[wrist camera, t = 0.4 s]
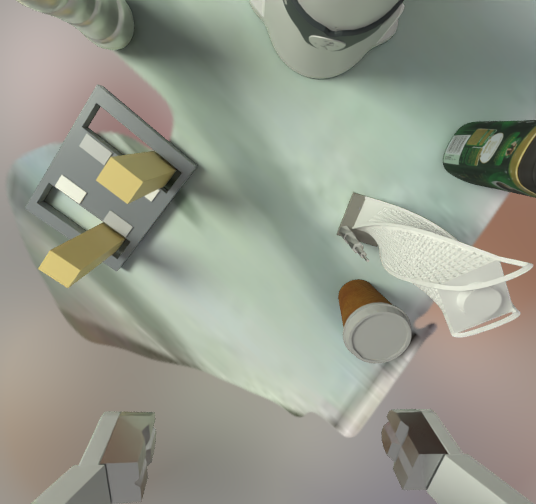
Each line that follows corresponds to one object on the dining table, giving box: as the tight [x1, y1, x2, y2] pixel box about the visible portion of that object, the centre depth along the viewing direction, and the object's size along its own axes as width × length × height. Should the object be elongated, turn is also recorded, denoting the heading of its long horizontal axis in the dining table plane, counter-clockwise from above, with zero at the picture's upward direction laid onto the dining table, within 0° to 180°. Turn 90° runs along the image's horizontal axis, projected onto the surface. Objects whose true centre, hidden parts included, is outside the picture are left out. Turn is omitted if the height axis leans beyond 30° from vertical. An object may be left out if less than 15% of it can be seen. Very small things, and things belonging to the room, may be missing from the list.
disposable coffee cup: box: [338, 279, 411, 363], centre depth 47 cm, size 10×10×12 cm
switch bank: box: [25, 85, 197, 271], centre depth 45 cm, size 16×22×2 cm
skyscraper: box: [337, 193, 533, 337], centre depth 35 cm, size 8×8×28 cm
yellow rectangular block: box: [96, 151, 177, 204], centre depth 39 cm, size 4×3×13 cm
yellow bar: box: [38, 222, 126, 288], centre depth 43 cm, size 4×3×13 cm
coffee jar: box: [443, 120, 536, 198], centre depth 36 cm, size 10×8×19 cm
